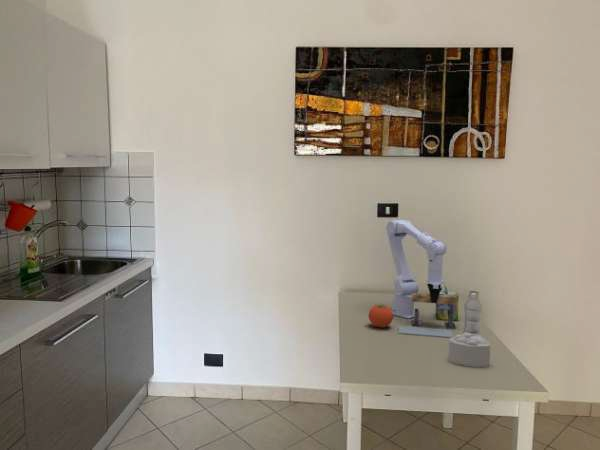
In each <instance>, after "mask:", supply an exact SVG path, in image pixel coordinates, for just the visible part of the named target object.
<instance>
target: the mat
mask: <svg viewBox="0 0 600 450" xmlns="http://www.w3.org/2000/svg"><path fill="white" fill-rule="evenodd" d="M397 327H398V335H406V336H407V335H408V336H409V335H410V336H420V337H421V336H422V337H435V338H443V339H447V338H448V339H450V338H452V337H454V336H453V333H452V329H445V328H444V329H442V328H430V327H428V328H427V327H420V326H404V325H398V326H397Z"/></svg>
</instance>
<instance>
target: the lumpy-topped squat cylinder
mask: <svg viewBox="0 0 600 450" xmlns="http://www.w3.org/2000/svg"><path fill="white" fill-rule="evenodd" d="M448 339H449V340H448V352H447V353H448V355H447V358H448V359H447V360H448V361H449V362H450V363H453V364H457V365H460V366H465V367H471V368H472V367H473V368H474V367H479V368H482V367H483V368H484V367H489V366H490V359H491V356H490V355H491V343H490V342H488V341H487V339H486V338H484V337H482V335H480V336H479V335H475V336H471V334H469V333H463V332H462V334H456V335H455V336H453V337H452V338H448Z"/></svg>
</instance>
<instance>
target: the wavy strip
mask: <svg viewBox="0 0 600 450" xmlns="http://www.w3.org/2000/svg"><path fill="white" fill-rule="evenodd" d="M412 302H414V303H427V304H432V303H431V296H430V293H412ZM437 303H439V304H454V305H457V297H456V296H449V295H439V296H438V300H437Z"/></svg>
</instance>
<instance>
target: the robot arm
mask: <svg viewBox="0 0 600 450" xmlns="http://www.w3.org/2000/svg"><path fill="white" fill-rule="evenodd" d="M385 226H386V227H385V230H386V233H387V237H388V242H389V246H390V250H391V254H392V259H393V262H394V266H395V270H396V275H397V277H396V279H395V280H394V281H393V282H394V292H395V294H394V295H393V297H392V302H391V311H392V313H393V316H397V317H401V318H406V319H411V318H414V316H415V302H412V293H417V294H419V290H420V289H419V288H420V287H419V284H418V282H417V281H416V278H415V277H414V276H413V275H412V274H411V273H410V270H409V266H408V263H407V258H406V255H405V250H404V247H403V243H402V241H403V240H404V239H405V238H406V236H407V235H409V236H410V237H412V238H414V239H415V240H416V243H417V244H418V245H419V246H420V247H421V248H423V249H424V250H425V251H426V252H425V253H426V255H427V260H428V265H427V266H428V267H427V269H428V270H427V280H426V282H427V283H426V285H427V288H428V290H429V294H430V296H431V303H430V304H436V303H437V300H438V296H439V293H440V291H443V290H442V289H443V288H442V284H445V280H443V261H444V260H443V258H444V255H446V252H447V245H446V244H445V243H444V242H443V241H442V240H440V241H438V240H437V239H436V238H434V237H433V236H430V234H429V233H428V232H421V231H420V230H419V229H418V228H416V227H415V226H414V225H413V224H412V222H411V221H409V219H399V220H397V219H396V220H395V219H394V220H392V219H390V220H389V221H388V222H387V224H386V225H385Z"/></svg>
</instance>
